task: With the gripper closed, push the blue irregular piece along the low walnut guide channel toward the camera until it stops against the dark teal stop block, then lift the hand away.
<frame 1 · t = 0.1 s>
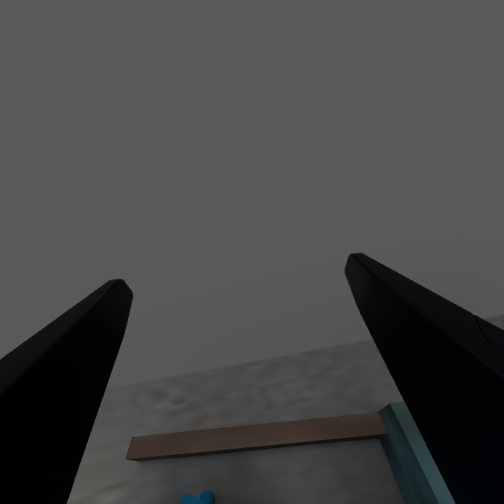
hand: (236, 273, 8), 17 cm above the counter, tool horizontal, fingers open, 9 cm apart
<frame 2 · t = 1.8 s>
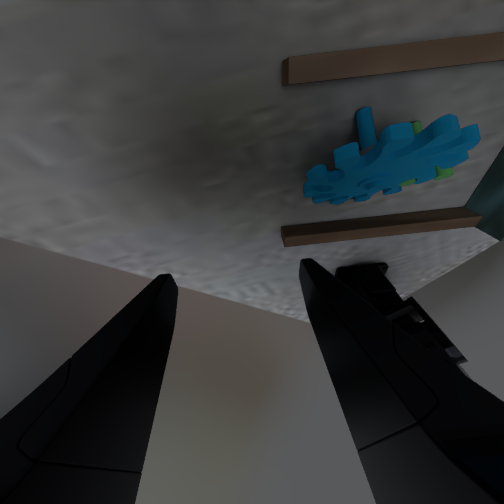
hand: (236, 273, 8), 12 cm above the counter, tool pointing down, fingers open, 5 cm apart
guide channel: (395, 158, 17), on the counter
blue irregular piece: (354, 159, 17), on the counter
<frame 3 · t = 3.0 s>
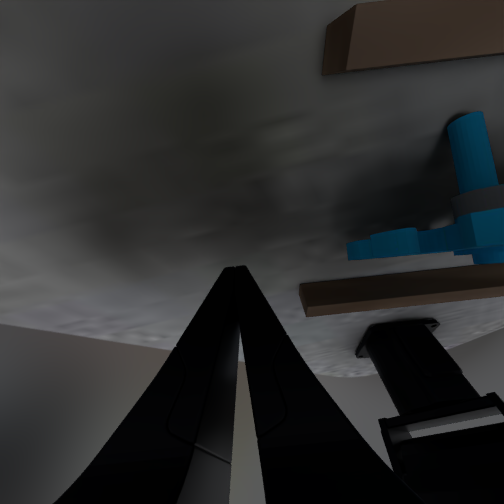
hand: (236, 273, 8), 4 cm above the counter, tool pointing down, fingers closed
guide channel: (488, 195, 11), on the counter
blue irregular piece: (424, 194, 11), on the counter
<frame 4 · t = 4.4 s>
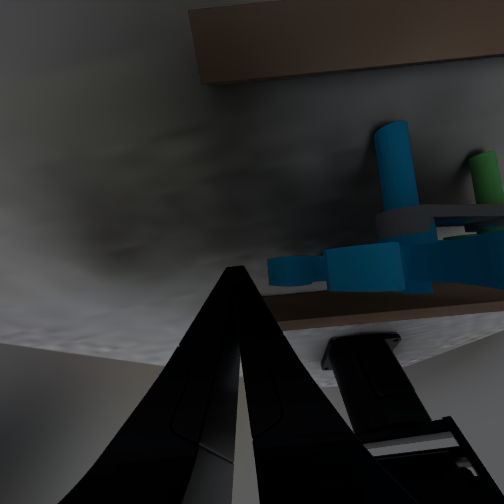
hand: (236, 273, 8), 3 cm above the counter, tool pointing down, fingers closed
guide channel: (426, 212, 10), on the counter
blue irregular piece: (365, 207, 10), on the counter, touching gripper
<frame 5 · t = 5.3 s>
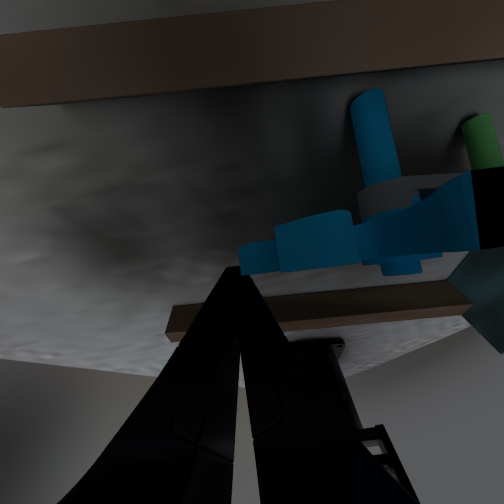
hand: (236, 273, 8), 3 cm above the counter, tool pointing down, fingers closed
guide channel: (326, 223, 10), on the counter
blue irregular piece: (353, 190, 9), on the counter, touching gripper
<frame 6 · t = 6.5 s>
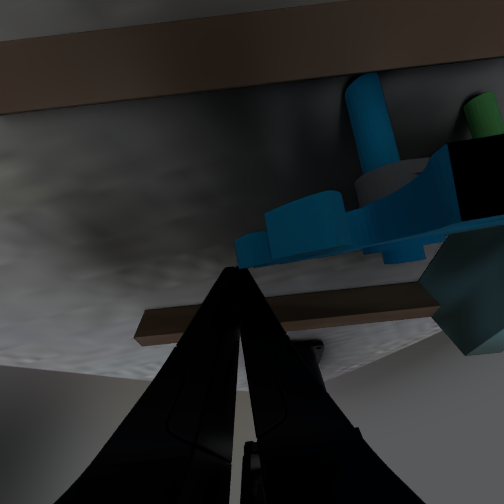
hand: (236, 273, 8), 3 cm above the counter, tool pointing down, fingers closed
guide channel: (285, 227, 10), on the counter
blue irregular piece: (353, 180, 9), on the counter, touching gripper, guide channel
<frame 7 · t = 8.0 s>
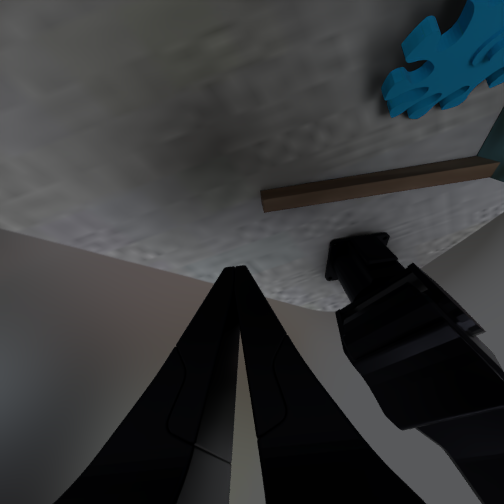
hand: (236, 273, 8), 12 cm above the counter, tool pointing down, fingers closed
guide channel: (388, 92, 14), on the counter
blue irregular piece: (444, 45, 13), on the counter
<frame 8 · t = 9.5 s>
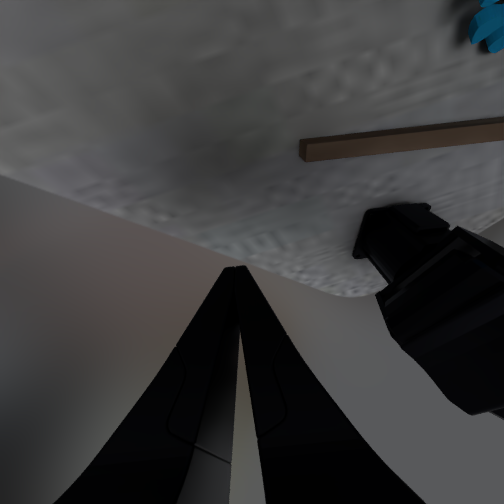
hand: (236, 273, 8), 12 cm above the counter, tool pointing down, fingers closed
guide channel: (469, 14, 12), on the counter
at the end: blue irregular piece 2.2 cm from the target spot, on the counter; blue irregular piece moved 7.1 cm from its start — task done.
